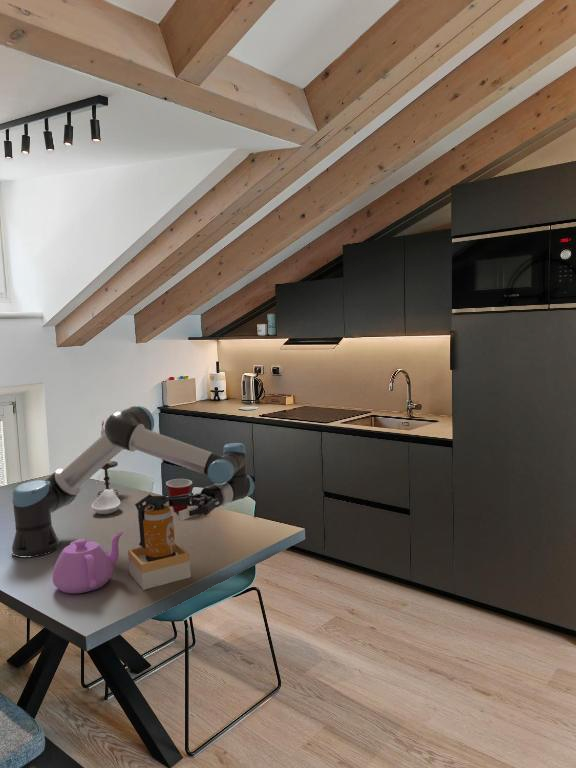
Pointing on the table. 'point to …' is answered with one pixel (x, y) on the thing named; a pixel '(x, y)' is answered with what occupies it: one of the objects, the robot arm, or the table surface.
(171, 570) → the orange-rimmed open box
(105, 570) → the teapot
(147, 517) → the canister
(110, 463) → the candlestick
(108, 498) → the spoon rest
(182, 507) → the plastic cup
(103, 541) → the table surface
